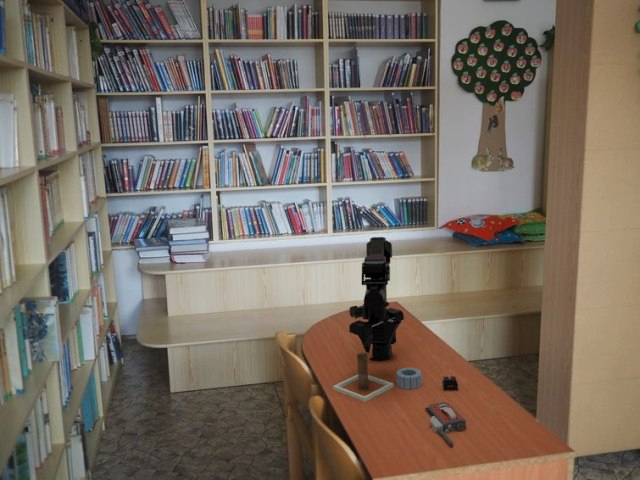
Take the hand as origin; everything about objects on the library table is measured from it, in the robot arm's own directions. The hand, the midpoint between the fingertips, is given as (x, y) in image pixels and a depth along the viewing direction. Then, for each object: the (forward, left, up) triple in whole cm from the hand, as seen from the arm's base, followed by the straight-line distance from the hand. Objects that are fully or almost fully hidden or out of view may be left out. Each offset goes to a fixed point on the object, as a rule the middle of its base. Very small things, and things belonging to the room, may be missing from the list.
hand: (377, 348), depth 199 cm
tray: (+6, -1, -12) cm, 14 cm away
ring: (-5, +8, -12) cm, 15 cm away
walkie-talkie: (+8, +31, -13) cm, 35 cm away
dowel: (+6, -1, -12) cm, 13 cm away
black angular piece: (-10, +19, -13) cm, 25 cm away
